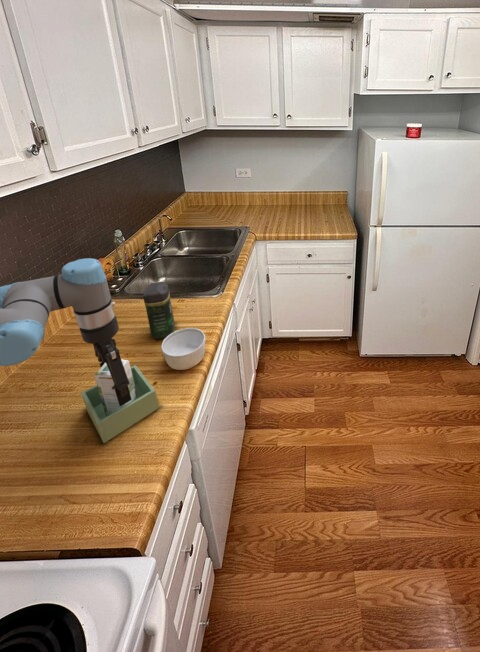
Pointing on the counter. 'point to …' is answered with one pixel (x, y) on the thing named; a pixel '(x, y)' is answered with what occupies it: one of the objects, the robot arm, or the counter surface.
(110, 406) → the syrup box
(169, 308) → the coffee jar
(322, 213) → the counter surface
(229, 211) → the counter surface
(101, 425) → the bin
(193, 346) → the ramekin
